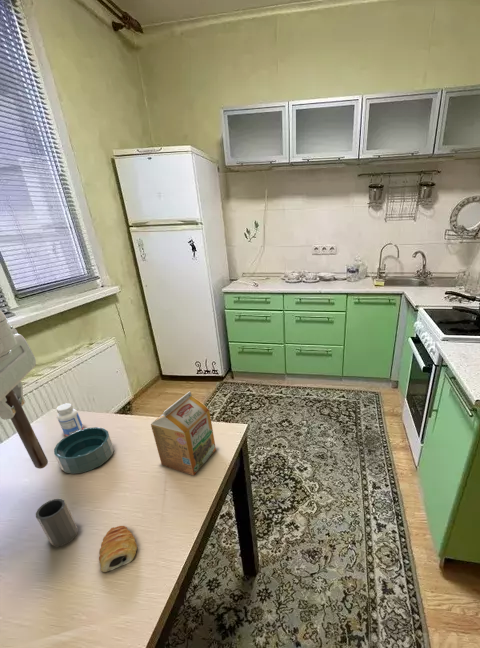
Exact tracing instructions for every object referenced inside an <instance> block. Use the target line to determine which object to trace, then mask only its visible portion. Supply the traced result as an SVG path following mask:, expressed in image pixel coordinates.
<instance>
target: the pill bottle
mask: <svg viewBox="0 0 480 648" xmlns="http://www.w3.org/2000/svg"><path fill="white" fill-rule="evenodd" d="M55 411H56V412H57V415H56V419H57V421H58V423H59V426H60V427H61V430H62V432H63V434H64V436H65V437H66V436H68V435H70V434H72V433H74V432H76V431H79V430H82V429H85V428H84V425H83V422H82V419H81V418H80V415H79V412H78V410H77V409H76V408H74V407H73V404H72V403H67V402H66V403H62V404H60V405H57V407H56V410H55Z"/></svg>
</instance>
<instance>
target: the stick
mask: <svg viewBox="0 0 480 648" xmlns="http://www.w3.org/2000/svg"><path fill="white" fill-rule="evenodd" d="M5 397H6V399H7V401H6V403H7V404H8V405H9V406H14V408H15V410H16V414H15V415H14V417H13V418H11V419H10V420H11V423H12V425H13V427H14V428H15V430H16V433H17V435H18V436H19V439H20V441H21V443H22V444H23V446H24V449H25V451H26V452H27V454H28V456H29V458H30V460H31V462H32V464H33V467H35V469H38V470H39V469H44V468H45V467H47V465H48V464H49V461H48V458H47V456H46V454H45V452H44V450H43V447H42V446H41V444H40V441H39V440H38V439H39V438H38V437H37V435H36V433H35V431H34V429H33V427H32V425H31V423H30V420H29V419H28V416H27V415H26V412H25V409H24V408H23V406H21V404H20V402H19V400H18V398H17V395H16V393H15V391H14V390H11V391H10V392H9V393H8V394H7V395H6V396H5Z"/></svg>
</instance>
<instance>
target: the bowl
mask: <svg viewBox="0 0 480 648" xmlns="http://www.w3.org/2000/svg"><path fill="white" fill-rule="evenodd" d="M109 433H110V432H109V431H108V430H107V429H105V427H98V426H95V427H86V428H84V429H82V430H79V431H76V432H74V433H72V434H70V435H68V436H65V437H63V438H62V439H61V440H60V441H59V442H58V443H57V444H56V445H55V447H54V449H53V454H54V457H55V459H56V461H57V463H58V466H59V468H60V469H61V470H62V471H63V472H64V473H66V474H71V475H74V474H83V473H87V472H89V471H93V470H94V469H96V468H98V467H101V466H102V465H103V464H104V463H106V462H107V461H108V460H109V459H110V458H111V457H112V455H113V454H114V450H115V448H114V444H113V441H112V440H111V439H112V438H111V436H110V434H109Z"/></svg>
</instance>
